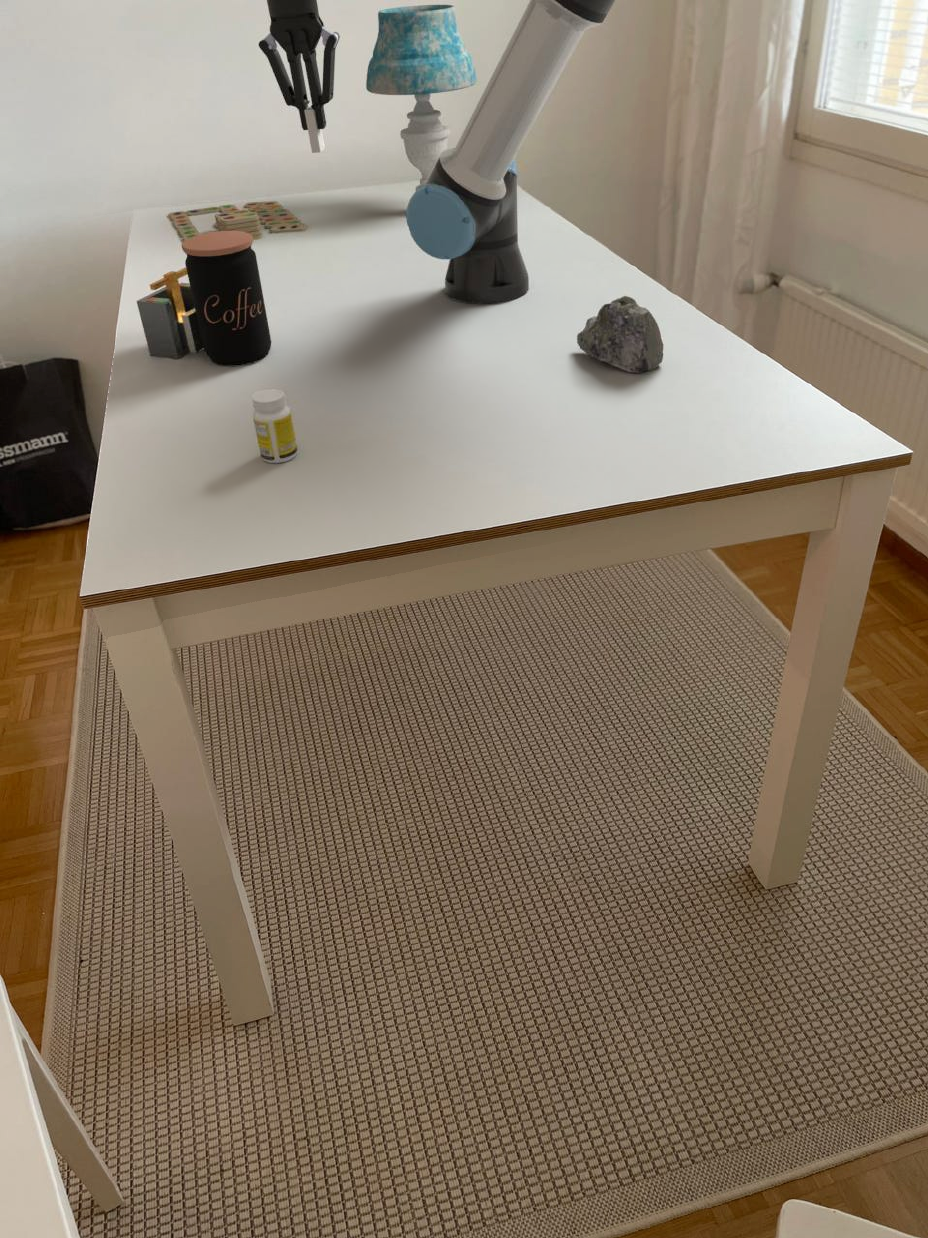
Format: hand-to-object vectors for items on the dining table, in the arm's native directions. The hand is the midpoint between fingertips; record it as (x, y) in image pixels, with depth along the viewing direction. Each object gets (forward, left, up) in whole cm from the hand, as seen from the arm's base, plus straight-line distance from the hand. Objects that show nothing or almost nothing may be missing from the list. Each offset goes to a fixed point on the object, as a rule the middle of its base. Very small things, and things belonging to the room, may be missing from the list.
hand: (318, 149), depth 164 cm
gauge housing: (+14, +29, -25) cm, 40 cm away
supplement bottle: (-25, +58, -25) cm, 68 cm away
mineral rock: (-57, +14, -25) cm, 64 cm away
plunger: (+10, +29, -24) cm, 38 cm away
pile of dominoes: (+52, -43, -26) cm, 72 cm away
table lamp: (+10, -60, -25) cm, 66 cm away
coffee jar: (+2, +29, -25) cm, 38 cm away
